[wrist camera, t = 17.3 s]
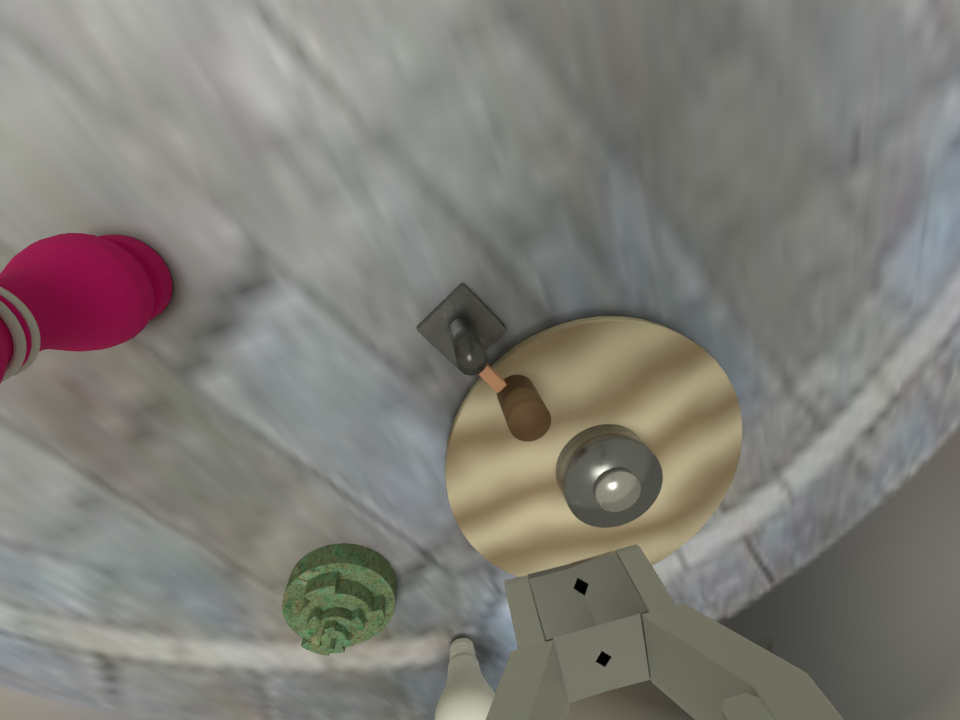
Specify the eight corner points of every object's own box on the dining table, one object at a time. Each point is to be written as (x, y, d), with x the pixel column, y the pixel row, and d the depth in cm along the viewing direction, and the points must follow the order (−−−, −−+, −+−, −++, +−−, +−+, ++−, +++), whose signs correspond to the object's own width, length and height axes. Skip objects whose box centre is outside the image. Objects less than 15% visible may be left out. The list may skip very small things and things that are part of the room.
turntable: (389, 403, 38) (384, 445, 32) (690, 260, 37) (744, 275, 31) (515, 612, 48) (530, 675, 42) (757, 503, 47) (808, 551, 40)
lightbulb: (433, 619, 49) (438, 735, 39) (492, 617, 50) (511, 729, 40) (430, 662, 51) (434, 783, 41) (487, 659, 52) (504, 776, 42)
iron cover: (541, 448, 40) (554, 475, 36) (630, 408, 39) (652, 431, 36) (573, 518, 42) (587, 549, 39) (656, 481, 42) (678, 509, 39)
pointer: (416, 326, 38) (417, 361, 31) (462, 282, 37) (473, 307, 30) (464, 371, 40) (475, 414, 32) (508, 330, 39) (530, 365, 32)
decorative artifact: (378, 530, 45) (272, 559, 44) (371, 590, 38) (247, 624, 38) (408, 606, 48) (311, 634, 48) (407, 673, 42) (294, 705, 41)
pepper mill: (200, 308, 35) (-37, 449, 17) (108, 341, 35) (-231, 518, 17) (145, 212, 33) (-209, 253, 14) (45, 247, 33) (-440, 334, 14)
